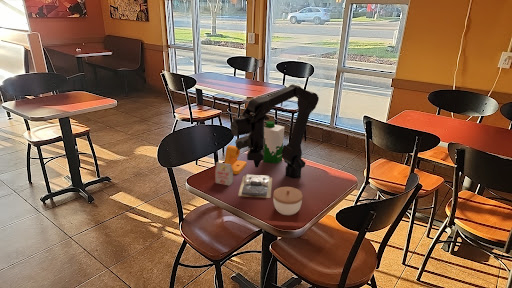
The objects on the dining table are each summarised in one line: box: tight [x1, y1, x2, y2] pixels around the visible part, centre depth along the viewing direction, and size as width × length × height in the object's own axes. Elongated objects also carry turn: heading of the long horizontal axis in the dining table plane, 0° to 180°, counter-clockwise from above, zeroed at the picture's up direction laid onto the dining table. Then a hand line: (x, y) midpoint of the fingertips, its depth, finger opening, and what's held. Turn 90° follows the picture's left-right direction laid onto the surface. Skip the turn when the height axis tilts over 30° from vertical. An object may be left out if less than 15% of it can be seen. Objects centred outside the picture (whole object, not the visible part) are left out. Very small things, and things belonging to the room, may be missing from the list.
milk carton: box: [262, 120, 285, 164], centre depth 159 cm, size 9×9×20 cm
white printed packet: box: [214, 161, 234, 186], centre depth 139 cm, size 4×7×10 cm, turn 70°
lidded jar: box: [272, 186, 303, 216], centre depth 120 cm, size 11×11×9 cm
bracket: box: [224, 144, 247, 175], centre depth 151 cm, size 11×7×12 cm, turn 160°
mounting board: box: [237, 175, 273, 199], centre depth 138 cm, size 13×17×1 cm
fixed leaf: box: [244, 174, 270, 186], centre depth 140 cm, size 10×10×2 cm
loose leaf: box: [242, 181, 268, 195], centre depth 133 cm, size 10×10×2 cm
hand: (256, 167), depth 134 cm, fingers closed
